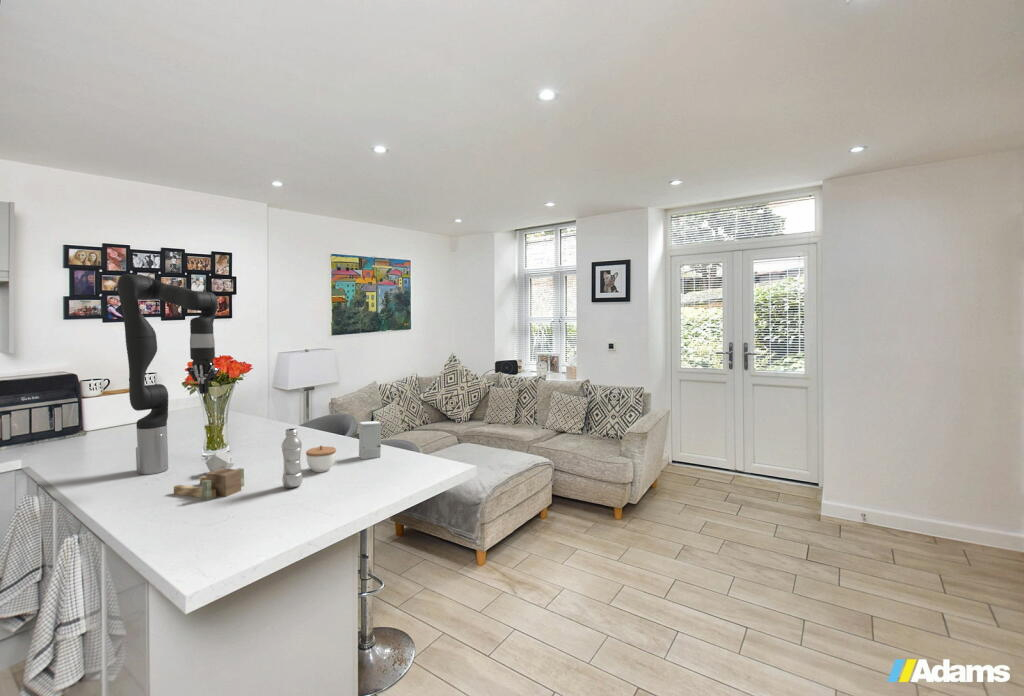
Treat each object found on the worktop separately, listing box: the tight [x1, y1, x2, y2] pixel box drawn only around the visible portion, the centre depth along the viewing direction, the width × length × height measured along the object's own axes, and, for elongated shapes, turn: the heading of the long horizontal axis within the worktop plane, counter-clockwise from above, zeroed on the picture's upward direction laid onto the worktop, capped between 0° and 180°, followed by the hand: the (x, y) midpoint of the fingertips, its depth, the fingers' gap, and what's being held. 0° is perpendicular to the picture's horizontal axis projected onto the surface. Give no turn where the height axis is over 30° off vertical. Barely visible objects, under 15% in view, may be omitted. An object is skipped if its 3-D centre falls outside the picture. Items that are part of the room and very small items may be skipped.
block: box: [205, 468, 242, 497], centre depth 158 cm, size 8×6×7 cm
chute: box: [173, 467, 245, 501], centre depth 160 cm, size 16×14×6 cm
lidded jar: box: [305, 445, 337, 473], centre depth 182 cm, size 11×11×9 cm
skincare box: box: [358, 420, 382, 460], centre depth 200 cm, size 8×6×15 cm
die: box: [205, 451, 236, 472], centre depth 178 cm, size 8×9×10 cm
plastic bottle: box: [281, 427, 303, 489], centre depth 163 cm, size 6×7×20 cm
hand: (204, 393), depth 172 cm, fingers closed
